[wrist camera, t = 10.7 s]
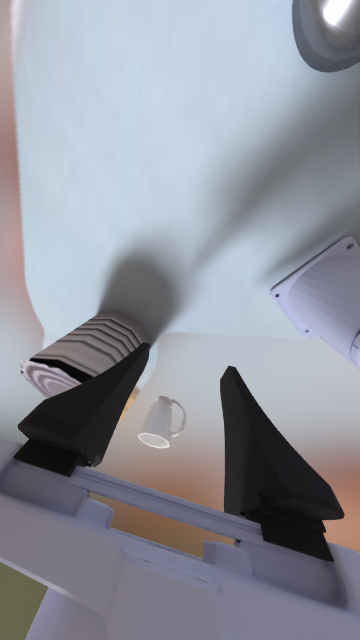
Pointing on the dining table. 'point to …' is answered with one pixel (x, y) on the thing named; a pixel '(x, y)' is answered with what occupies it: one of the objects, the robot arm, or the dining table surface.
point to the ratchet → (327, 33)
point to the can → (85, 352)
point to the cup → (159, 424)
